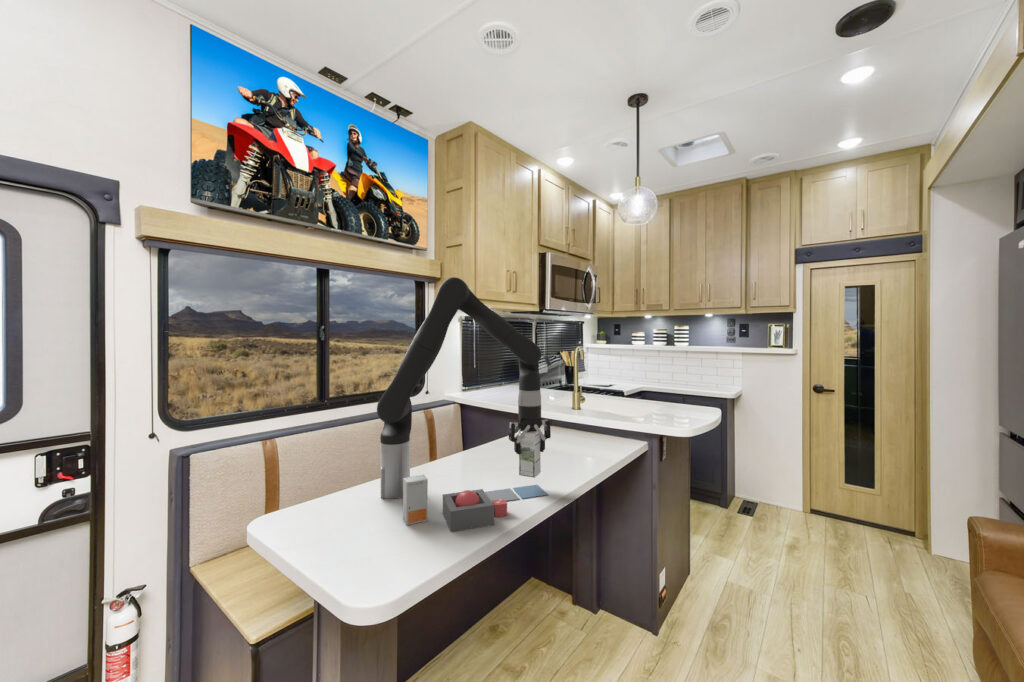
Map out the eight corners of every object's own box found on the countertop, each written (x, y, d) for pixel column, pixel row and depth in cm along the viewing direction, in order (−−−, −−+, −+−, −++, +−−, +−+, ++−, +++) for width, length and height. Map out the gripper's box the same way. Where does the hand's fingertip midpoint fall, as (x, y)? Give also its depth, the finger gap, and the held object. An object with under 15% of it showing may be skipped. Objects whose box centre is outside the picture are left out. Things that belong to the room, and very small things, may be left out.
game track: (458, 508, 121) (458, 507, 121) (452, 497, 130) (452, 496, 130) (548, 495, 131) (548, 494, 131) (537, 485, 140) (537, 484, 140)
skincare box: (406, 526, 110) (406, 482, 110) (402, 519, 114) (402, 477, 114) (428, 521, 113) (427, 478, 113) (424, 515, 117) (423, 474, 117)
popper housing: (450, 532, 107) (450, 511, 107) (442, 513, 118) (442, 494, 118) (512, 521, 113) (512, 502, 113) (498, 504, 124) (498, 486, 124)
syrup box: (541, 472, 135) (541, 429, 135) (534, 478, 130) (534, 433, 130) (525, 470, 138) (525, 427, 137) (518, 475, 132) (518, 431, 132)
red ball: (457, 523, 110) (457, 497, 110) (452, 512, 117) (452, 488, 117) (482, 519, 112) (482, 494, 112) (476, 508, 119) (476, 485, 119)
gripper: (513, 406, 127) (513, 458, 128) (554, 403, 132) (554, 453, 132) (505, 402, 134) (505, 451, 135) (544, 400, 139) (544, 447, 140)
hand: (529, 452), depth 134 cm, fingers closed on syrup box, 8 cm apart
